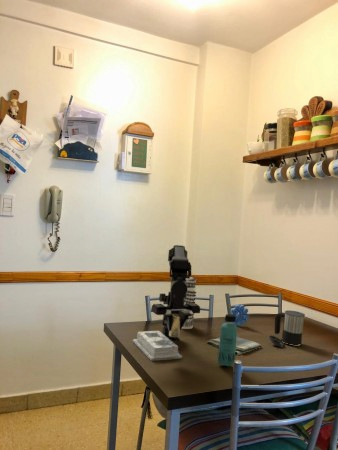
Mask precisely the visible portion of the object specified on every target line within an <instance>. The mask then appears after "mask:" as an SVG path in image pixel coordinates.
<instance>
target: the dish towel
mask: <svg viewBox="0 0 338 450" xmlns="http://www.w3.org/2000/svg"><path fill="white" fill-rule="evenodd" d="M219 343H220V337H217V338H214V339H210V340H207V341H206V344H208V345H211V346H213V347H215V348H218V349H219V345H220V344H219ZM259 347H261V348H262V344H260V343H258V342H255V341H253V340H250V339H246V338H242V337H239V336H237V339H236V350H235V352H236V354H235V355H236V356H241V355H243V353H244V354H246V352H247V353H250V352H252V350H253V351H255V350H254V349H256V350H258V349H257V348H259ZM259 349H260V348H259Z"/></svg>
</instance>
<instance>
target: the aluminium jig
mask: <svg viewBox="0 0 338 450" xmlns="http://www.w3.org/2000/svg"><path fill="white" fill-rule="evenodd" d="M132 342H133V344H134V345H135V346H136V347H137V348H138V349H139V350H140V351H141V352H142V353H143V354H144V356H146V357H147V359H149V360H150V361H151V362H156V361H167V360H178V359H179V360H180V359H182V358H183V355H182V354H180V353H179V346H178V345H177V344H176V343H174V341H173V340H170V339H168V338H167V337H166V336H165V335H163V334H162V332H161V331H160V330H147V331H146V330H145V331H137V335H136V338H133V339H132Z"/></svg>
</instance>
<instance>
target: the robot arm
mask: <svg viewBox="0 0 338 450" xmlns="http://www.w3.org/2000/svg"><path fill="white" fill-rule="evenodd" d="M167 262H169V263H168V264H169V275H168V276H169V278H171V279H170V289H169V291H168V295H166V293H159V296H158V300H159V302H160V303H153V304H152V305H151V309H150V310H151V312H152V313H153V314H155V315H157V316H162V326H163V327H162V332H161V333H162V334H163V335H165V336H166V337H167V338H168V339H170V340H171V341H180V337H170V336H169V331H170V330H171V325H172V318H173V315H172V314H179V315H181V320H180V331H181V330H182V327H183V325H184V323H185V322H186V320H187V319H188V317H189V316H191V315H192V314H191V313H190V310H192V312H193V313H194V314H200V313H201V306H200V305H198V304H197V303H196V302H195V303H186V304H185V305H184V299H185V298H186V293H187V285H186V278H188V279H190V277H192V264H191V261H189V258H188V251H187V249H186V246H185V245H181V244H174V245H173V246H172V248H170V249H169V250H168V256H167Z"/></svg>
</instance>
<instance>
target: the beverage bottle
mask: <svg viewBox="0 0 338 450" xmlns="http://www.w3.org/2000/svg"><path fill="white" fill-rule="evenodd" d="M224 317H225V318H224V321H226V322H223V323H222V324H221V328H220V337H219V338H220V343H219V344H220V345H219V348H218V352H217V362H218V364H220V365H222V366H227V367H231V366H234V364H235V363H234V362H235V360H236V355H237V354H236V352H235V350H236V339H237V337H238V329H239V326H237V324H234V323H232V322H235V321H236V316H235V315H232V313H227V314H225V316H224ZM233 363H234V364H233Z"/></svg>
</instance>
